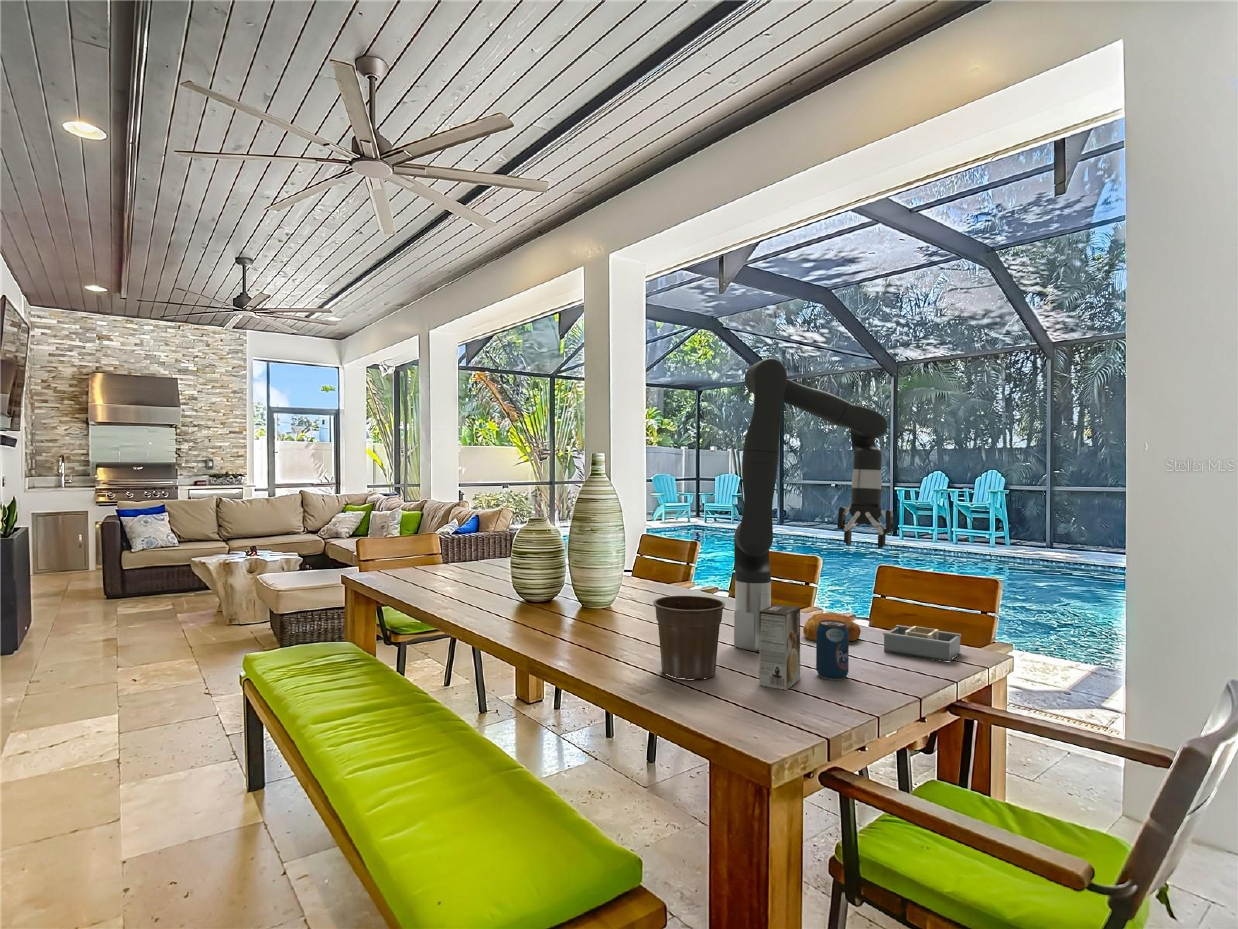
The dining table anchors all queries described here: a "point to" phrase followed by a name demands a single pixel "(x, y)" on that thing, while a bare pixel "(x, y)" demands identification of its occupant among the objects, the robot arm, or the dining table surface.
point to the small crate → (922, 632)
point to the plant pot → (688, 635)
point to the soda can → (832, 650)
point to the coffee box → (779, 646)
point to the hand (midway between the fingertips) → (864, 547)
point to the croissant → (814, 621)
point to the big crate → (922, 644)
